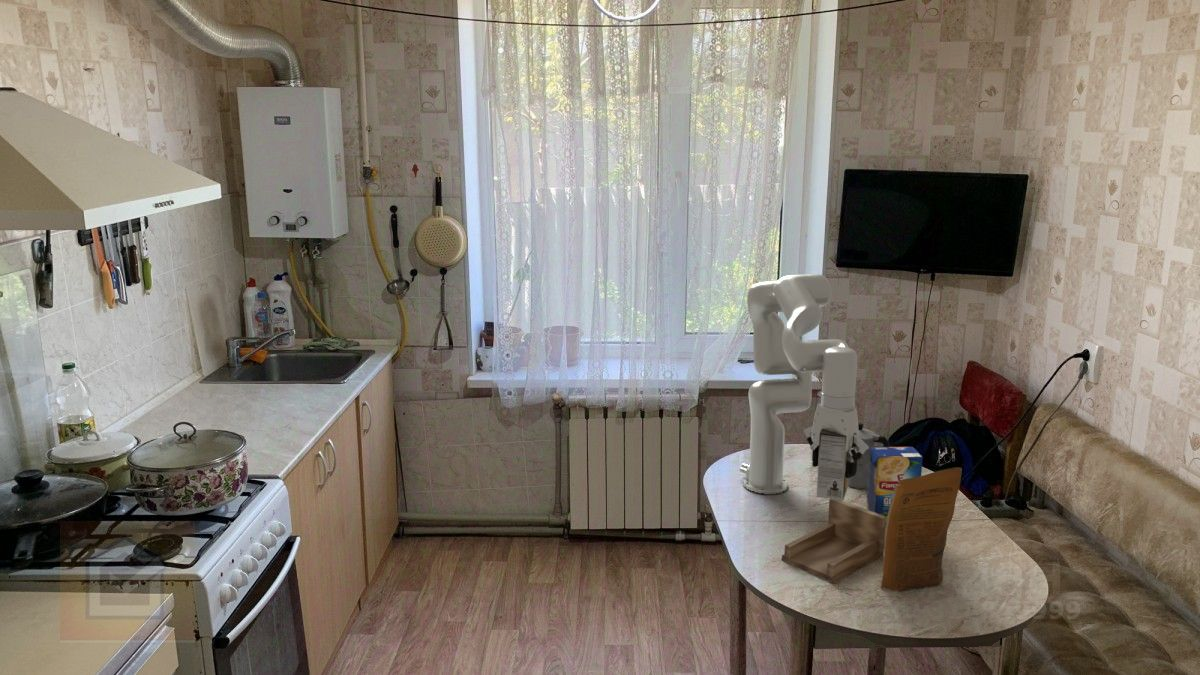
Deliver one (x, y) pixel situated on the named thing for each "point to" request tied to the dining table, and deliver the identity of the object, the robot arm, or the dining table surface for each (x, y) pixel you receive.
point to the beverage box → (889, 474)
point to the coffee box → (832, 466)
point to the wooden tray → (839, 543)
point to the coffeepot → (865, 457)
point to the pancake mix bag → (919, 530)
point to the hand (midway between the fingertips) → (833, 470)
